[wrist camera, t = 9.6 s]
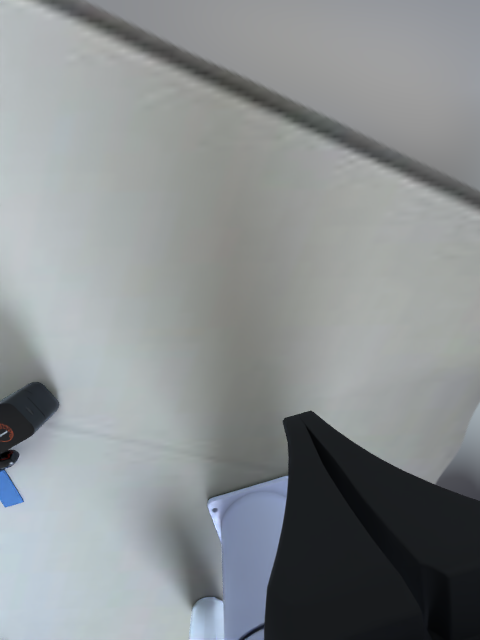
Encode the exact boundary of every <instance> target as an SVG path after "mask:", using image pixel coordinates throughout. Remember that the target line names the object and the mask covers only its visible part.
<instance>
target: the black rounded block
mask: <svg viewBox="0 0 480 640" xmlns="http://www.w3.org/2000/svg"><path fill="white" fill-rule="evenodd" d="M58 408H59V402H58V400H57V399H56V398H55V397H54V396H53V395H52V394H51V392H50V391H49V390H48V389H47V388H46V387H45V386H44V385H43V384H42V383H40V382H32V383H30V384H28V385H26V386H24V387H23V388H21V389H19V390H17V391H16V392H14V393H12V394H11V395H9V396H7V397H6V398H4V399H2V400H0V472H1V471H3V470H4V469H5V468H8V467H11V466H12V465H13V464H14V463H15V462H16V461H17V459H18V458H19V453H18V452H17V451H15V450H8V449H10V448H11V447H13V446H15V445H17V444H18V443H20V442H22V441H23V440H25V439H27V438H29V437H30V436H32V435H33V434H34V433H35V432H36V431H37V430H38V429H39V428H40V427H41V426H42V425H43V424H44V423H45V422H46V421H47V420H48V419H49V418H50V417H51V416H52V415H53V414H54V413H55V412H56V411H57V409H58Z"/></svg>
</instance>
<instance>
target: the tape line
mask: <svg viewBox="0 0 480 640" xmlns="http://www.w3.org/2000/svg"><path fill="white" fill-rule="evenodd" d="M0 500H1V502H2V504H3V505H4V507H8V506H12V505H15V504H19V503H22V502H24V501H23V499H22V497H21V496H20V494H19V493H18V491H17V489H16V488H15V486H14V484H13V483H12V481H11V480H10V478H9V476H8V475H7V473H6V471H5V470H3V471H1V472H0Z"/></svg>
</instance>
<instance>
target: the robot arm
mask: <svg viewBox="0 0 480 640" xmlns="http://www.w3.org/2000/svg"><path fill="white" fill-rule="evenodd" d="M283 425H284V429H285V433H286V437H287V442H288V456H289V463H288V476H284V477H281V478H277V479H274V480H270V481H267V482H264V483H260V484H257V485H254V486H250V487H247V488H244V489H240V490H237V491H234V492H230V493H227V494H223V495H220V496H217V497H213V498H211V499H209V500H208V509H209V512H210V515H211V517H212V520H213V523H214V525H215V528H216V531H217V533H218V536H219V539H220V542H221V544H222V575H223V607H224V639H225V640H480V501H478V500H475V499H472V498H469V497H466V496H463V495H460V494H458V493H455V492H452V491H450V490H447V489H445V488H442V487H439V486H437V485H435V484H432V483H430V482H427V481H425V480H423V479H421V478H418V477H416V476H414V475H412V474H409V473H407V472H405V471H403V470H401V469H399V468H397V467H395V466H393V465H391V464H389V463H387V462H385V461H384V460H382V459H380V458H378V457H376V456H375V455H373V454H371V453H370V452H368V451H366V450H365V449H363V448H362V447H360V446H358V445H357V444H355V443H354V442H352V441H351V440H349V439H348V438H347V437H345V436H344V435H342V434H341V433H340V432H338V431H337V430H335V429H334V428H333V427H331V426H330V425H329V424H328V423H326V422H325V421H324V420H322V419H321V418H320V417H319V416H318V415H316V414H315V413H314V412H312V411H308V412H304V413H301V414H297V415H294V416H290V417H287V418H284V420H283Z"/></svg>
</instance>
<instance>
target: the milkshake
mask: <svg viewBox="0 0 480 640" xmlns="http://www.w3.org/2000/svg"><path fill="white" fill-rule="evenodd" d="M189 640H225V639H224V607H223V602H222V601H221V600H220V599H218V598H216V597H205V598H202V599H200V600H198V601H197V602H196V603H195V605H194V606H193V608H192V614H191V623H190V632H189Z"/></svg>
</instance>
